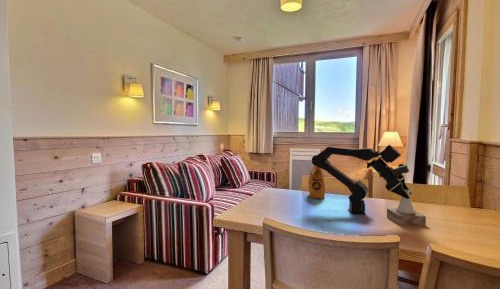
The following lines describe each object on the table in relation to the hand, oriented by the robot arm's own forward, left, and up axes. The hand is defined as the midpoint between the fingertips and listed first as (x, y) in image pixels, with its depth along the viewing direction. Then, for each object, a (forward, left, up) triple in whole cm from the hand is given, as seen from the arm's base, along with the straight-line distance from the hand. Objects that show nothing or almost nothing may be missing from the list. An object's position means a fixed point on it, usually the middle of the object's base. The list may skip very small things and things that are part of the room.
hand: (409, 196), depth 117 cm
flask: (-1, +1, -8) cm, 8 cm away
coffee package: (-30, +44, -12) cm, 55 cm away
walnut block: (-1, +1, -12) cm, 12 cm away
